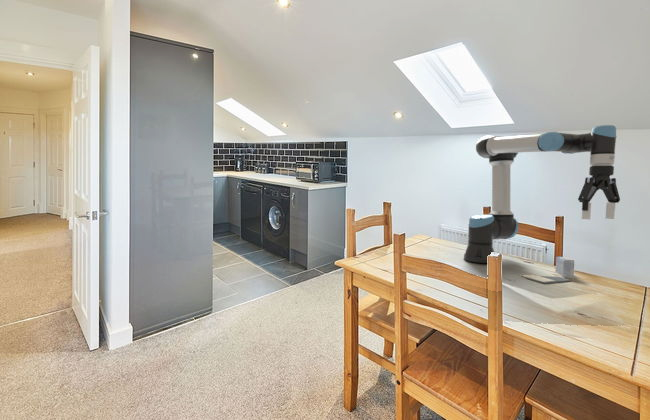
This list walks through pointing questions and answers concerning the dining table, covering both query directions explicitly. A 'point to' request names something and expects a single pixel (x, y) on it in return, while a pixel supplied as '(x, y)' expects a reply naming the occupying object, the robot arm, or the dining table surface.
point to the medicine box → (565, 267)
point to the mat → (545, 279)
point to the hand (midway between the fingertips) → (598, 219)
